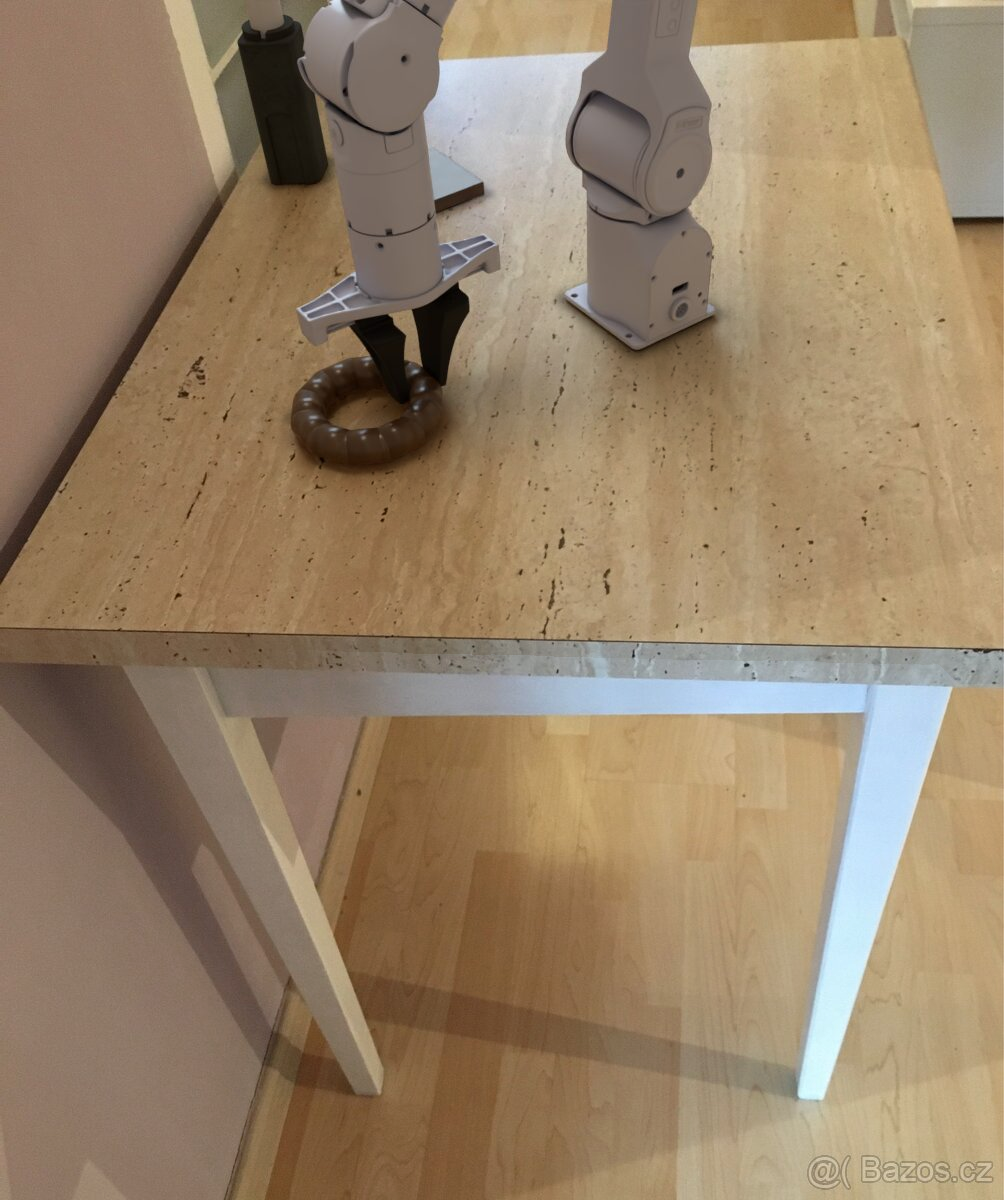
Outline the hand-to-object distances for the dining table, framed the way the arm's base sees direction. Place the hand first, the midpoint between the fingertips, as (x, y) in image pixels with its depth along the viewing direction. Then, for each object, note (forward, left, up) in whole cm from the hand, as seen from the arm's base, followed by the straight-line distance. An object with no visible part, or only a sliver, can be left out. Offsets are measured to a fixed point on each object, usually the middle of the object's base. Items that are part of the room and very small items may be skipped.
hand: (417, 388), depth 77 cm
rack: (+27, -16, -1) cm, 31 cm away
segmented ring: (0, +4, 0) cm, 4 cm away
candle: (+38, -9, -1) cm, 39 cm away
